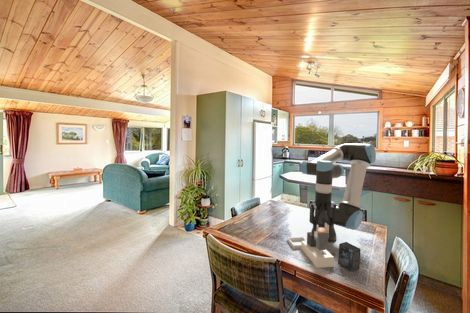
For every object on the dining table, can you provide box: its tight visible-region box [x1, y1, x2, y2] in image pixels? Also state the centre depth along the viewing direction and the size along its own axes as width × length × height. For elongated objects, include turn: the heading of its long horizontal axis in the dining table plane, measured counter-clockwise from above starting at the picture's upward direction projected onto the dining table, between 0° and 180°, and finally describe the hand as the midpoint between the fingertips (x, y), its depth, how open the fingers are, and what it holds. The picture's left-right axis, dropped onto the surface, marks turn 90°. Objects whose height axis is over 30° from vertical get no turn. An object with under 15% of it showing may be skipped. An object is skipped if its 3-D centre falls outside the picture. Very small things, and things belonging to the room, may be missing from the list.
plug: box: [314, 228, 329, 250], centre depth 111 cm, size 5×5×10 cm
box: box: [337, 241, 362, 272], centre depth 108 cm, size 8×6×11 cm
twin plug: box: [306, 227, 316, 247], centre depth 119 cm, size 5×5×13 cm
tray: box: [286, 236, 307, 250], centre depth 129 cm, size 10×10×2 cm
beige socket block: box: [300, 241, 336, 269], centre depth 116 cm, size 16×18×5 cm
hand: (321, 236), depth 111 cm, fingers closed on plug, 5 cm apart
